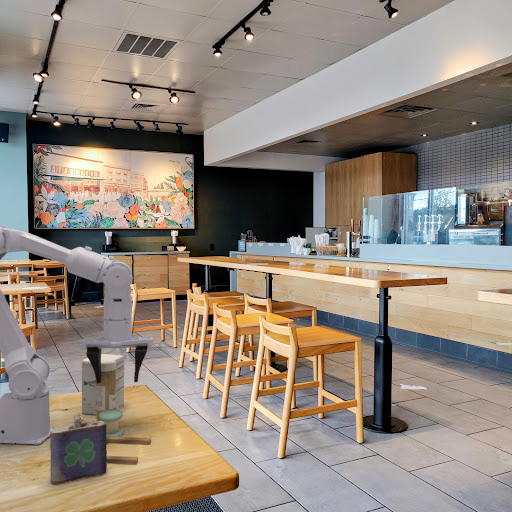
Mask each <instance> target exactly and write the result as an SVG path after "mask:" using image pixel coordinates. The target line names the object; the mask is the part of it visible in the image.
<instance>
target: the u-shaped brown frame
mask: <svg viewBox="0 0 512 512" xmlns="http://www.w3.org/2000/svg"><path fill="white" fill-rule="evenodd" d="M106 442H107V444H106V446H108V444H127V445H128V444H130V445H131V444H132V445H151V443H152V437H132V436H120V437H112V436H106ZM138 462H139V457H138V456H123V455H122V456H121V455H120V456H119V455H107V464H114V465H115V464H118V465H120V464H121V465H137V463H138Z"/></svg>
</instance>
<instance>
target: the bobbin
mask: <svg viewBox="0 0 512 512" xmlns="http://www.w3.org/2000/svg"><path fill="white" fill-rule="evenodd" d="M123 416H124V415H123V411H122V410H121V409H119V410H116V409H112V410H106V411H103V412H101V413H100V414H99V418H100V419H101V420H103V421H104V422H105V424H106V426H107V428H106V433H107V436H112V437H123V434H124V433H123V428H121V427H119V420H120V419H122V417H123Z"/></svg>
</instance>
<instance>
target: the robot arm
mask: <svg viewBox="0 0 512 512" xmlns="http://www.w3.org/2000/svg"><path fill="white" fill-rule="evenodd" d="M92 250H93V248H92V247H90V246H87V245H86V246H85V247H81V246H77V247H75V248H73V249H69V248H67V247H64V246H61V245H59V244H56V243H55V242H52V241H49V240H47V239H44V238H42V237H40V236H37V235H34V234H32V233H29V232H27V231H24V230H19V229H17V228H9V227H8V228H7V227H6V226H3V225H1V224H0V261H1V260H2V259H3V257H5V256H6V255H7V253H18V252H26V253H31V254H33V255H36V256H40V257H43V258H45V259H49V260H51V261H54V262H58V263H59V264H64V266H65V267H66V269H67V272H68V273H70V274H73V275H75V276H78V277H81V278H83V279H87V280H89V281H91V282H94V283H97V284H98V283H103V284H104V291H105V292H104V296H103V336H101V337H89V338H82V339H81V347H80V349H81V351H82V350H86V353H85V354H86V358H88V359H89V361H90V363H91V365H92V367H93V370H94V373H95V376H96V382H97V384H100V383H101V377H102V375H101V354H102V349H128V348H129V349H133V348H135V349H134V373H133V374H134V376H133V381H134V383H138V382H139V377H140V376H139V375H140V370H141V367H142V365H143V361H144V359H145V358H146V354H147V353H148V349H152V348H153V347H154V346H153V345H154V344H153V343H154V340H153V339H154V337H150V336H148V337H147V336H133V335H132V331H133V330H132V326H133V325H132V322H133V320H132V318H133V317H132V316H133V313H132V312H133V308H132V307H133V305H132V304H133V303H132V302H133V301H132V299H133V297H132V295H131V294H132V286H131V284H132V282H133V279H134V277H133V273H132V269H131V267H130V266H129V265H128V264H127V263H126V262H123V260H119V259H117V260H114V259H115V257H114V256H113V255H109V256H106V255H103V254H100V253H98V252H95V251H92ZM22 330H23V329H22V328H21V326H20V324H19V322H18V320H17V318H16V317H15V315H14V312H13V311H12V308H11V307H10V305H9V303H8V301H7V300H6V298H5V295H4V294H3V292H2V290H1V289H0V352H1V355H2V356H3V361H4V369H5V372H6V374H7V377H8V388H9V391H10V392H5V393H4V394H3V395H1V396H0V444H15V443H16V445H18V444H19V445H22V444H23V445H41V444H42V443H43V442H45V441H47V439H48V438H49V437H50V432H51V431H52V430H53V429H56V428H59V426H51V424H50V420H51V419H50V417H51V415H50V412H51V411H50V388H49V387H48V386H47V384H46V382H45V381H46V380H47V379H48V377H49V375H50V370H51V369H50V365H49V362H47V360H46V359H45V358H43V357H42V356H40V355H39V354H38V352H37V349H35V347H33V346H32V345H31V344H30V343H29V342H28V340H27V338H26V336H25V334H24V332H23V331H22Z"/></svg>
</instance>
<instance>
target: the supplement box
mask: <svg viewBox="0 0 512 512" xmlns="http://www.w3.org/2000/svg"><path fill="white" fill-rule="evenodd" d="M107 360H112V361H116V405H117V406H116V410H121V409H122V408H123V407H125V355H119V354H108V353H107V354H106V353H101V361H107ZM85 414H86V415H87V414H88V415H96V376H95V373H94V370H93V367H92V365H91V363H90V361H89V359H88V357H86V358H84V359H82V360H81V415H85Z"/></svg>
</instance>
